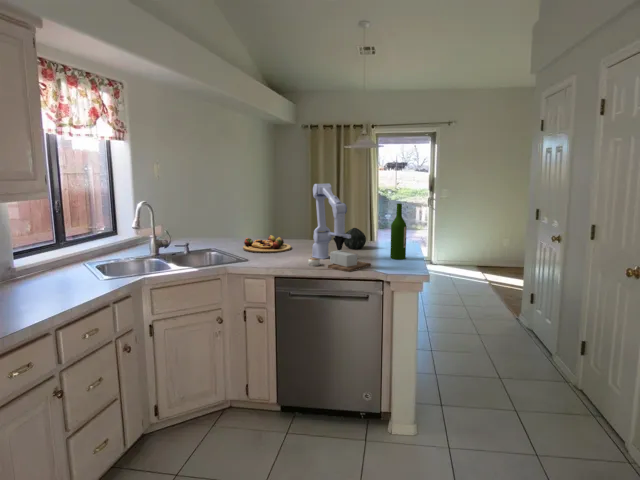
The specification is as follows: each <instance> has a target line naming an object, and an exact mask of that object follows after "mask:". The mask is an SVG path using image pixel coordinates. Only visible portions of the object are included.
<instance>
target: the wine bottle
mask: <svg viewBox="0 0 640 480" xmlns="http://www.w3.org/2000/svg"><path fill="white" fill-rule="evenodd" d="M395 212H396V216H395V218H394V219H393V221H392V223H391V226H390V256H389V257H390V260H391V259H392V260H397V261H402V260H405V259H406V255H407V251H406V250H407V223H406V221H405V220H404V218H403V215H402V214H403V203H396V211H395Z"/></svg>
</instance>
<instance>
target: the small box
mask: <svg viewBox="0 0 640 480" xmlns="http://www.w3.org/2000/svg"><path fill="white" fill-rule="evenodd" d="M329 254H330V255H329V256H330V259H329V262H330V264H337V265H341V266H345V267H350V266H355V265H357V261H358V253H354V252H351V251H345V250H343V249H342V250H333V251H330V253H329Z"/></svg>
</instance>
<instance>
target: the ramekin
mask: <svg viewBox="0 0 640 480" xmlns="http://www.w3.org/2000/svg"><path fill="white" fill-rule="evenodd" d="M320 260H321V259H320V258H314V257H310V258H308V260H307V265H308V266H310V267H318V266H321V265H320V264H321V263H320V262H321V261H320Z"/></svg>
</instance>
